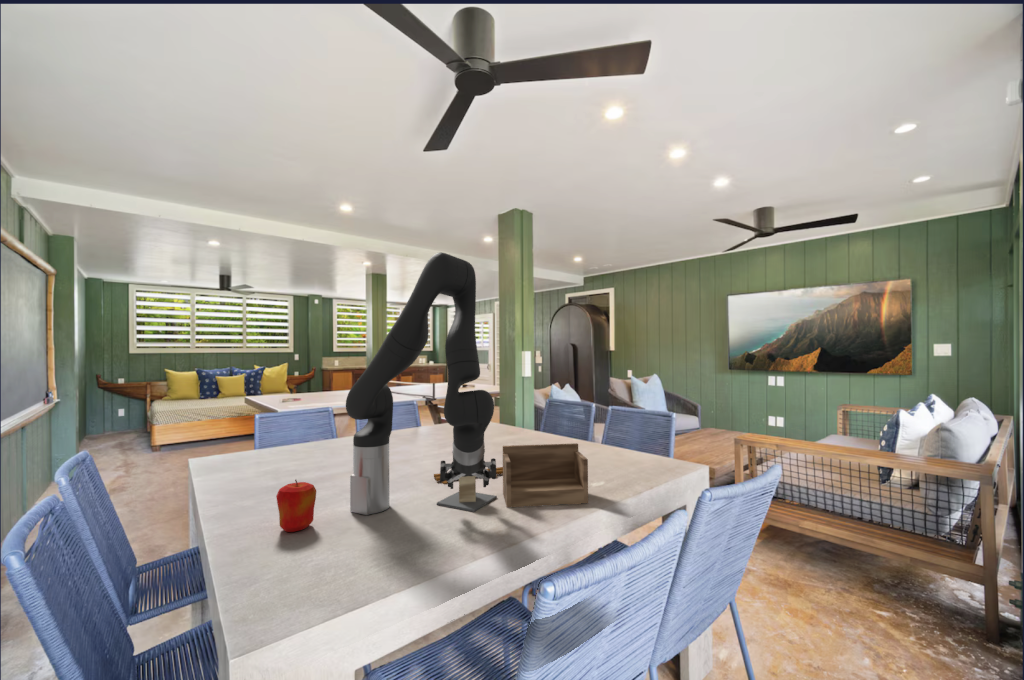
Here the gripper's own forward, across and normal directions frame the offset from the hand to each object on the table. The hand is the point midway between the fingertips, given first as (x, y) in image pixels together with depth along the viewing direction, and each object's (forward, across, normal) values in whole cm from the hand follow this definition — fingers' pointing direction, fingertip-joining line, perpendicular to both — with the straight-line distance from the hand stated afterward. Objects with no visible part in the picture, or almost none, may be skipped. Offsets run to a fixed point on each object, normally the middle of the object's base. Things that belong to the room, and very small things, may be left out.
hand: (468, 484), depth 116 cm
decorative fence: (+28, -2, -17) cm, 33 cm away
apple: (+1, +41, +9) cm, 42 cm away
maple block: (+9, 0, -1) cm, 9 cm away
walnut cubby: (+10, -21, 0) cm, 23 cm away
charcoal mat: (+10, 0, 0) cm, 10 cm away
